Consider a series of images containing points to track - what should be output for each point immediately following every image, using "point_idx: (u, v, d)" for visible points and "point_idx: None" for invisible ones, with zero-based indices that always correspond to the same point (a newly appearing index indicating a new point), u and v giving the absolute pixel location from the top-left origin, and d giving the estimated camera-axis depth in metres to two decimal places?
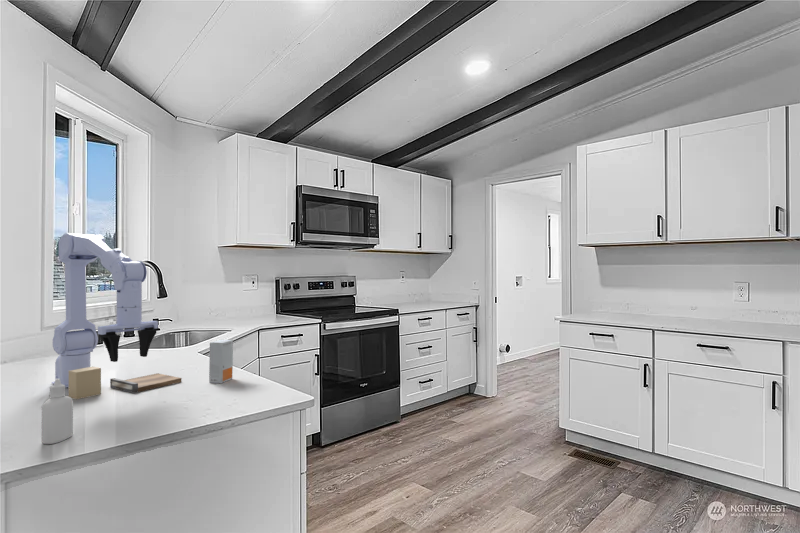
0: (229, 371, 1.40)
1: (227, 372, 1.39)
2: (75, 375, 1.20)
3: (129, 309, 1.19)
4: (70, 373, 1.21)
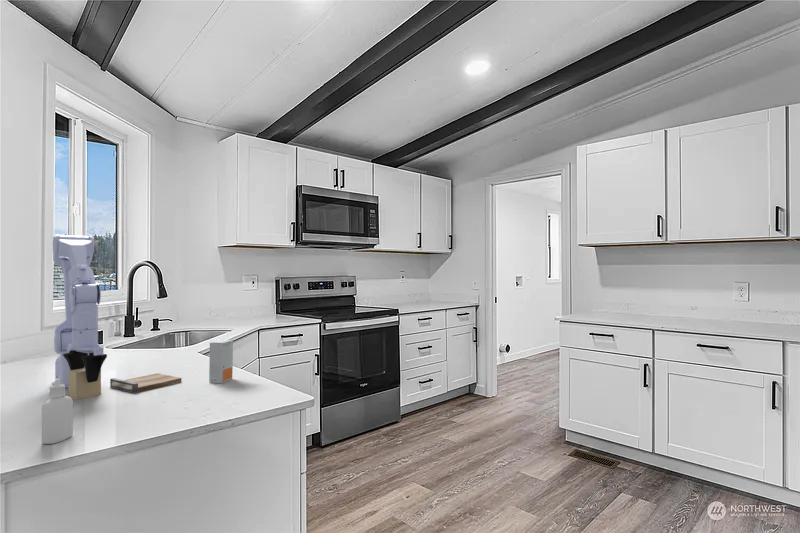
0: (229, 371, 1.40)
1: (227, 372, 1.39)
2: (75, 375, 1.20)
3: (72, 331, 1.22)
4: (70, 373, 1.21)
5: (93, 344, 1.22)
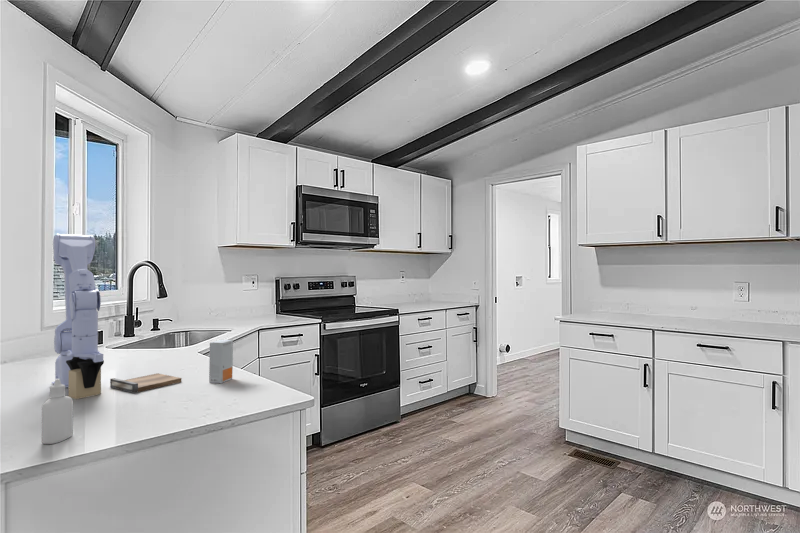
0: (229, 371, 1.40)
1: (227, 372, 1.39)
2: (75, 375, 1.20)
3: (72, 337, 1.22)
4: (70, 373, 1.21)
5: (93, 351, 1.22)
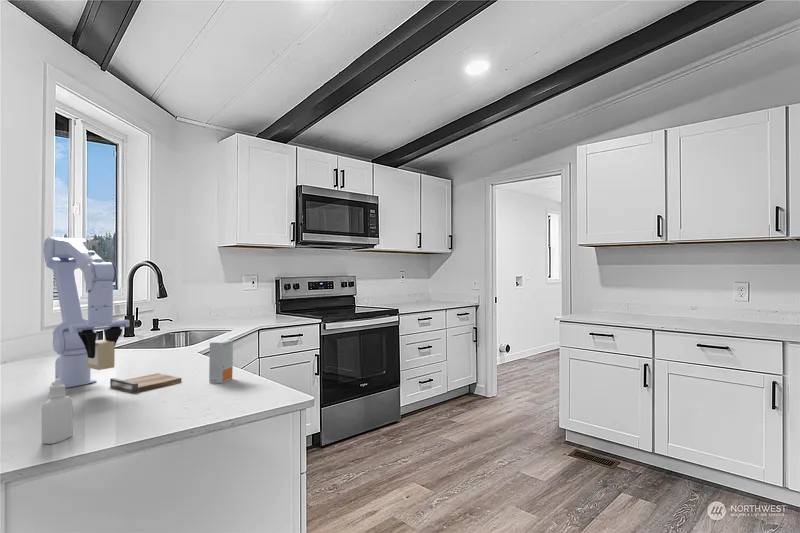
0: (229, 371, 1.40)
1: (227, 372, 1.39)
2: (112, 345, 1.25)
3: (100, 308, 1.23)
4: (102, 345, 1.23)
5: None
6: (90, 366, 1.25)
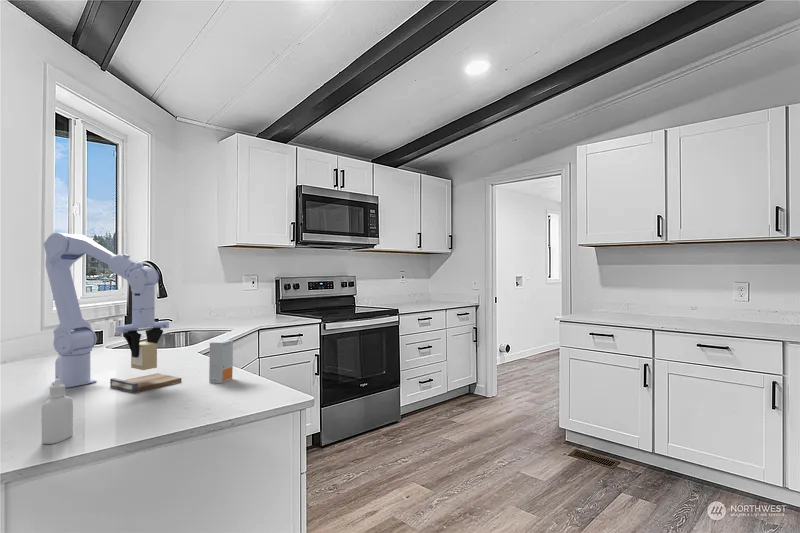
0: (229, 371, 1.40)
1: (227, 372, 1.39)
2: (155, 346, 1.33)
3: (143, 310, 1.31)
4: (146, 347, 1.31)
5: None
6: (134, 366, 1.32)
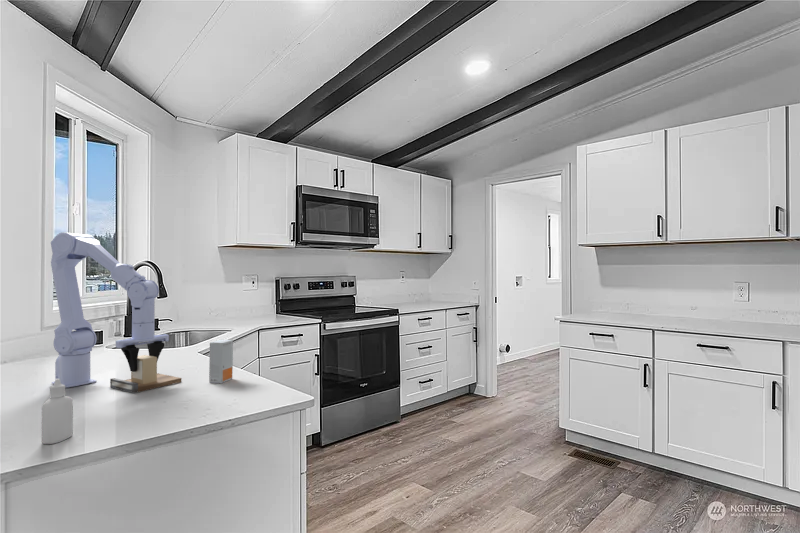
0: (229, 371, 1.40)
1: (227, 372, 1.39)
2: (155, 360, 1.33)
3: (143, 324, 1.31)
4: (146, 360, 1.31)
5: None
6: (134, 380, 1.32)
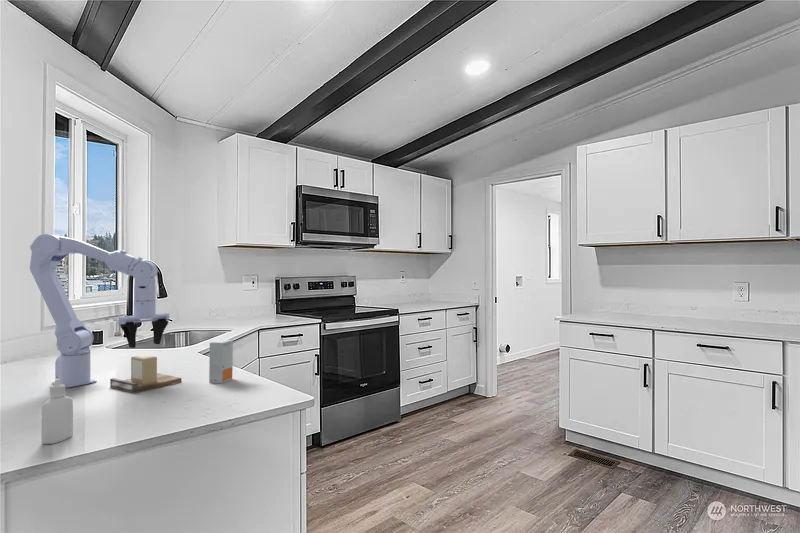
0: (229, 371, 1.40)
1: (227, 372, 1.39)
2: (155, 360, 1.33)
3: (145, 302, 1.38)
4: (146, 360, 1.31)
5: None
6: (134, 380, 1.32)
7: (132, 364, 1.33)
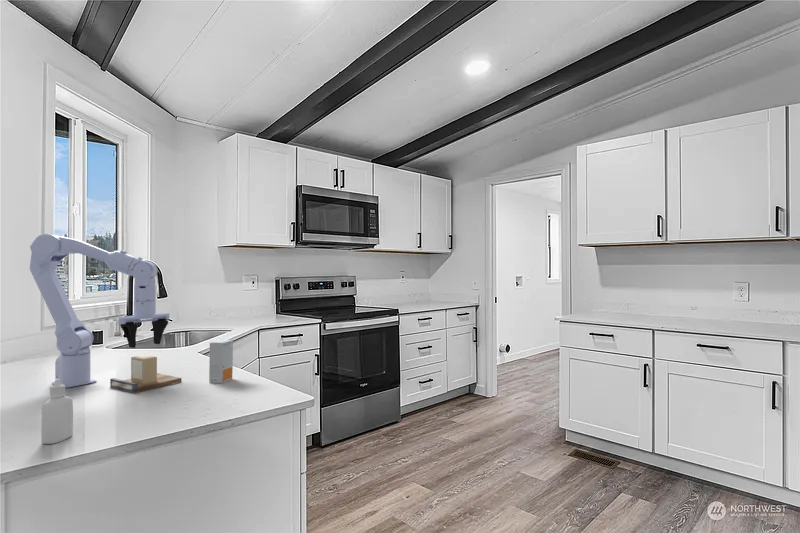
0: (229, 371, 1.40)
1: (227, 372, 1.39)
2: (155, 360, 1.33)
3: (145, 302, 1.38)
4: (146, 360, 1.31)
5: None
6: (134, 380, 1.32)
7: (132, 364, 1.33)
